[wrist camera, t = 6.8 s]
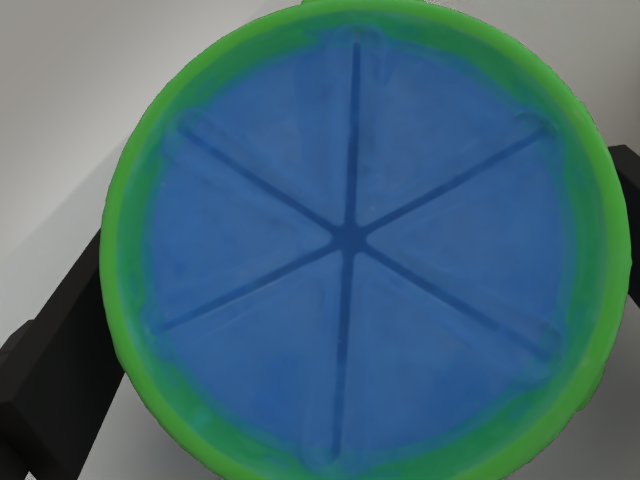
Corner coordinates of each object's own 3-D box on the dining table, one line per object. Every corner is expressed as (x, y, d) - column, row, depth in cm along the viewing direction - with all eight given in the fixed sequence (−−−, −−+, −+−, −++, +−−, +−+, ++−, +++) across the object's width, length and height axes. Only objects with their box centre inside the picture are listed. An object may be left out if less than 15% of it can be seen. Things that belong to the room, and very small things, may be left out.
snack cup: (481, 527, 17) (605, 778, 8) (199, 462, 19) (-4, 597, 9) (527, 113, 20) (663, -106, 10) (275, 88, 22) (181, -121, 12)
